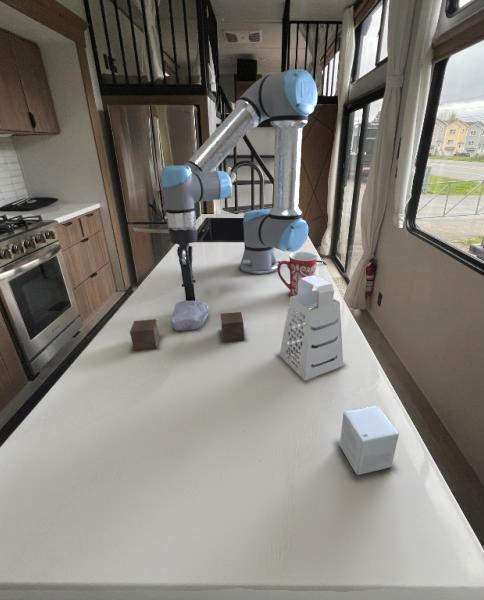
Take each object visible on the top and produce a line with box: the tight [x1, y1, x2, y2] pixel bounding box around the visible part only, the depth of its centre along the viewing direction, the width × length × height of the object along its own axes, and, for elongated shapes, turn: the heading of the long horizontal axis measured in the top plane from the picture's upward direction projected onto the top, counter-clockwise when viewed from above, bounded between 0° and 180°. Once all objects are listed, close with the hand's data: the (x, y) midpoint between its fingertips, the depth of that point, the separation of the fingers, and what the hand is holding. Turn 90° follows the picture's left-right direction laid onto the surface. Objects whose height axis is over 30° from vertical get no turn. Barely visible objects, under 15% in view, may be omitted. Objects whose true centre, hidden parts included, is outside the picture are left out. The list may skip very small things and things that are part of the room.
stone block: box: [171, 300, 210, 332], centre depth 93 cm, size 12×5×10 cm
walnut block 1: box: [129, 318, 160, 352], centre depth 82 cm, size 6×6×6 cm
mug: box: [276, 251, 319, 297], centre depth 105 cm, size 13×9×14 cm
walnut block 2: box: [220, 311, 245, 343], centre depth 84 cm, size 6×6×6 cm
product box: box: [339, 405, 400, 476], centre depth 50 cm, size 6×6×7 cm
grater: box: [279, 274, 344, 381], centre depth 71 cm, size 10×10×20 cm
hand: (191, 304), depth 98 cm, fingers closed
